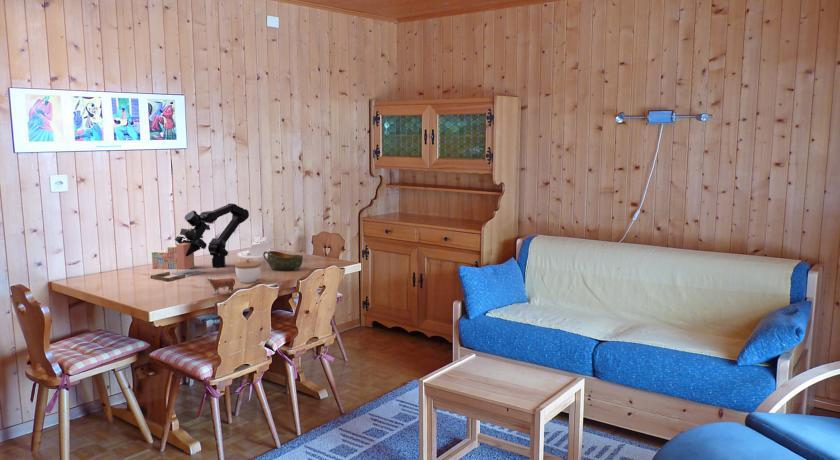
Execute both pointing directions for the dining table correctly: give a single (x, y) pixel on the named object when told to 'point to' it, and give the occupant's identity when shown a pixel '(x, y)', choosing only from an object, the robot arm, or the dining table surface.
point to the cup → (283, 261)
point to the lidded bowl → (248, 271)
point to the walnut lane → (159, 276)
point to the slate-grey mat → (189, 272)
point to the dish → (257, 249)
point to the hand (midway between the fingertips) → (182, 255)
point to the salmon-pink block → (184, 256)
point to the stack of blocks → (166, 258)
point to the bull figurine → (221, 284)
